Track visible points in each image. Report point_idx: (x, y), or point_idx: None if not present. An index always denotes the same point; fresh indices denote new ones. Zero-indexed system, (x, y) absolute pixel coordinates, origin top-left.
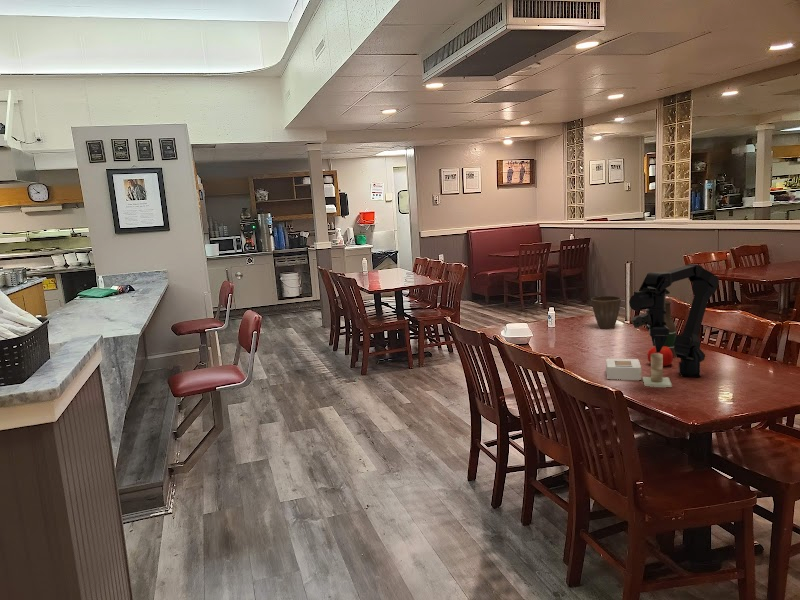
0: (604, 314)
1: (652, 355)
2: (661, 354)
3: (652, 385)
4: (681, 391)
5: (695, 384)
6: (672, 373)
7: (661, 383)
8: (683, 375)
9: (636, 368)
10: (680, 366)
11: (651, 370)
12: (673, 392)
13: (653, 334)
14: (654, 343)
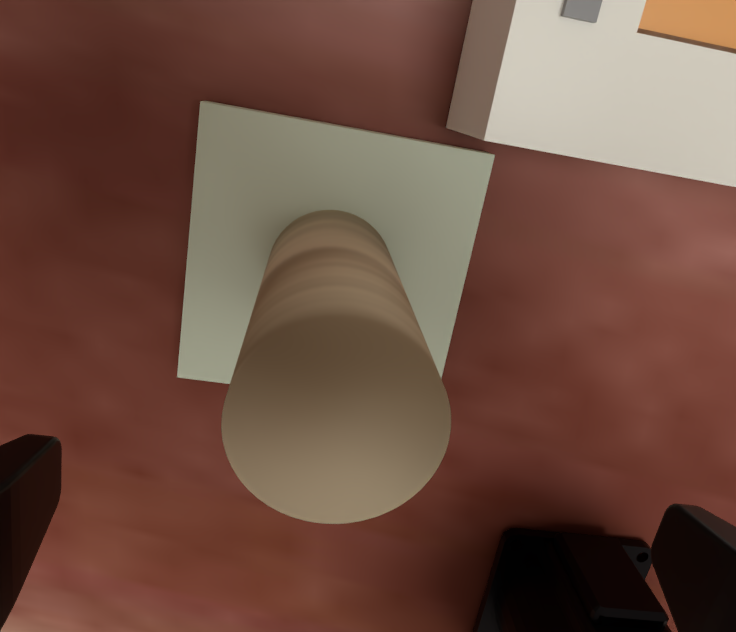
0: None
1: (280, 336)
2: (333, 506)
3: (195, 187)
4: (69, 413)
5: (283, 564)
6: (626, 480)
7: (229, 293)
8: (505, 544)
9: (498, 68)
10: (581, 588)
11: (313, 241)
12: (28, 338)
13: None
14: (697, 565)
